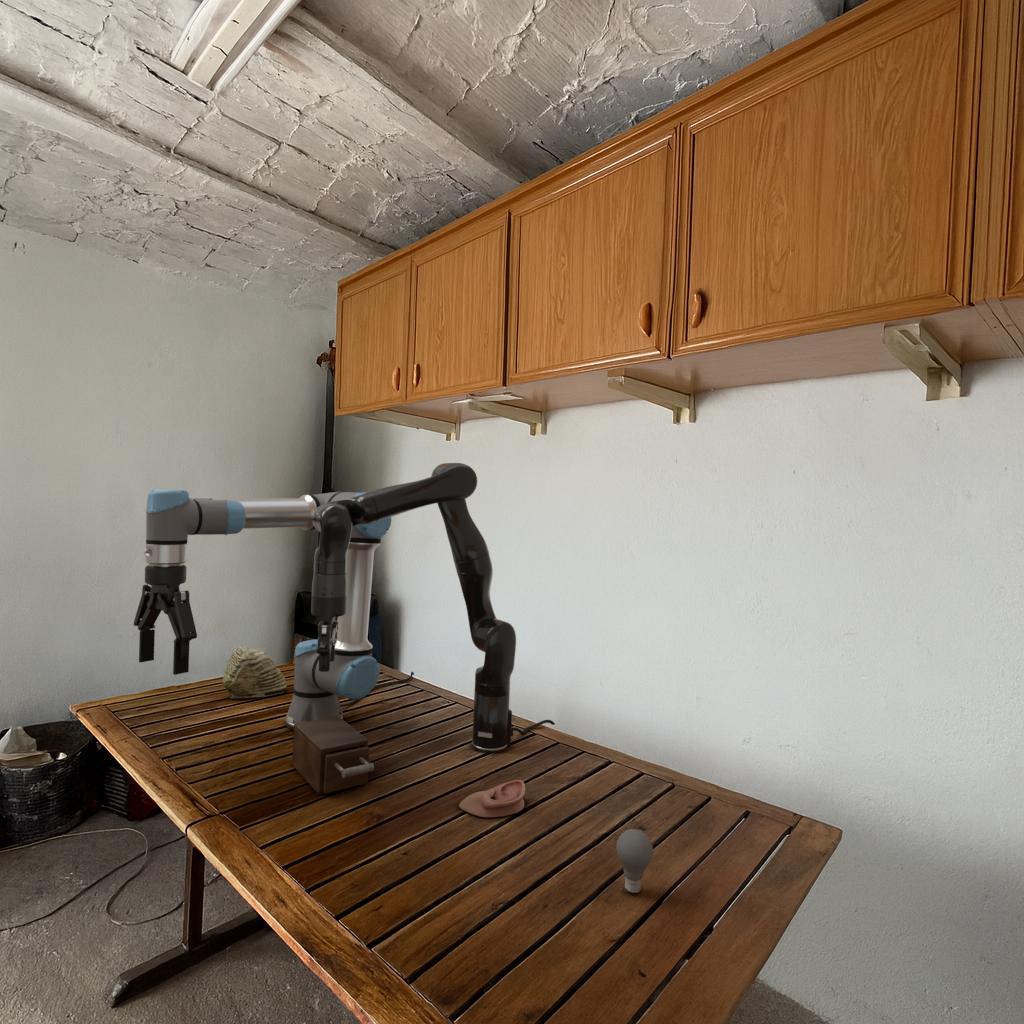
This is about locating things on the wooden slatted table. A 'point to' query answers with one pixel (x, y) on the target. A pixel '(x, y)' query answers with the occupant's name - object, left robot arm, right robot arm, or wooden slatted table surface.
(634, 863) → the light bulb
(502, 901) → the wooden slatted table surface
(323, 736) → the cabinet
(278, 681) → the fossil
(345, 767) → the drawer
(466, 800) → the anatomical model
